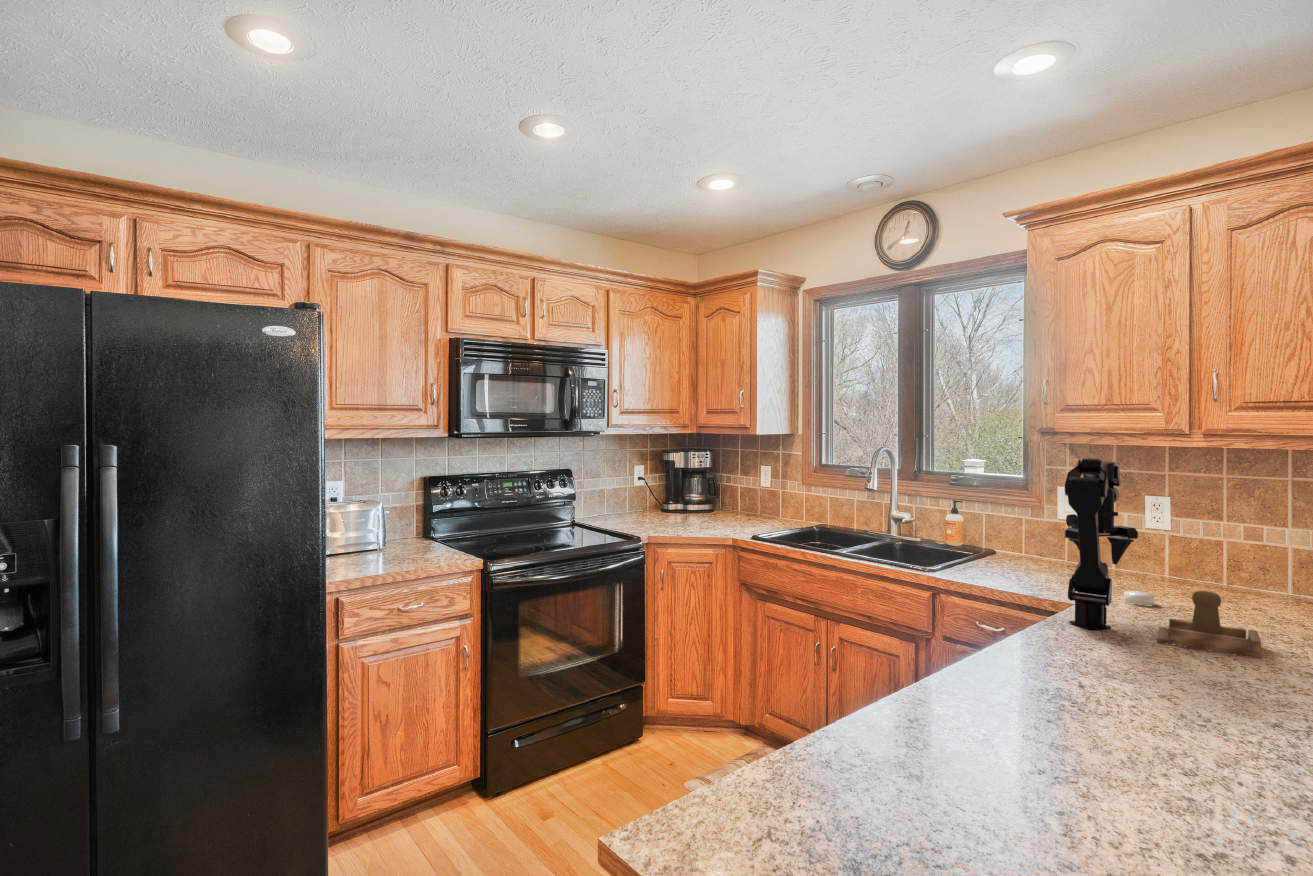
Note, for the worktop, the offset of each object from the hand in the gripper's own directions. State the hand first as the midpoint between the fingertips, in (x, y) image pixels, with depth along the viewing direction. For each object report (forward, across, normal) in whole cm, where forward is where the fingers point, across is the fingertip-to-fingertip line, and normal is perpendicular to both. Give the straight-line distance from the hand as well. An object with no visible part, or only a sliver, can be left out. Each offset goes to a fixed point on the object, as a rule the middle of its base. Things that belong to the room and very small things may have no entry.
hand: (1100, 564), depth 183 cm
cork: (+12, 0, +28) cm, 30 cm away
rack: (+13, 0, +28) cm, 31 cm away
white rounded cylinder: (+13, -20, -6) cm, 25 cm away
